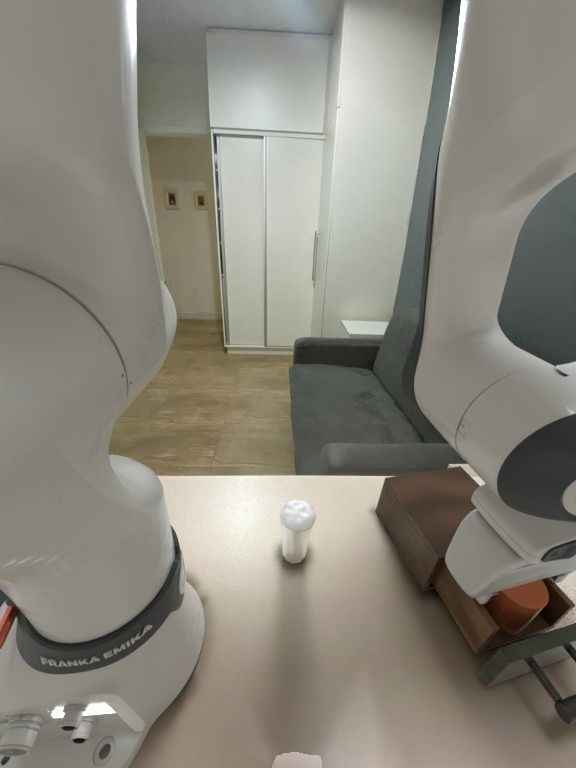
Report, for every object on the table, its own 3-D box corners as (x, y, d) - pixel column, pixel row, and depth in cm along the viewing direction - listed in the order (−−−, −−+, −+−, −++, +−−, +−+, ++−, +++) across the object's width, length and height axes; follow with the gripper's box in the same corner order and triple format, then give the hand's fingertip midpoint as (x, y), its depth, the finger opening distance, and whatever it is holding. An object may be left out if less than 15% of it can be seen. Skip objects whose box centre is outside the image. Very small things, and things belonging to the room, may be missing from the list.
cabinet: (506, 570, 43) (530, 536, 39) (421, 592, 40) (439, 557, 36) (446, 498, 53) (460, 465, 50) (375, 511, 50) (385, 477, 47)
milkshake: (266, 556, 43) (268, 508, 38) (292, 531, 46) (297, 484, 41) (290, 580, 40) (296, 531, 35) (316, 552, 44) (324, 504, 39)
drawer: (621, 706, 31) (659, 683, 28) (522, 749, 28) (553, 728, 25) (495, 555, 44) (511, 529, 41) (419, 573, 41) (431, 547, 38)
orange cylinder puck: (496, 642, 34) (519, 614, 31) (460, 588, 38) (477, 560, 36) (536, 629, 35) (562, 601, 32) (496, 579, 40) (516, 551, 37)
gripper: (622, 461, 33) (559, 542, 39) (459, 491, 28) (419, 576, 35) (704, 511, 27) (614, 594, 34) (520, 557, 23) (459, 643, 29)
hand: (515, 586), depth 34 cm, fingers open, 8 cm apart
